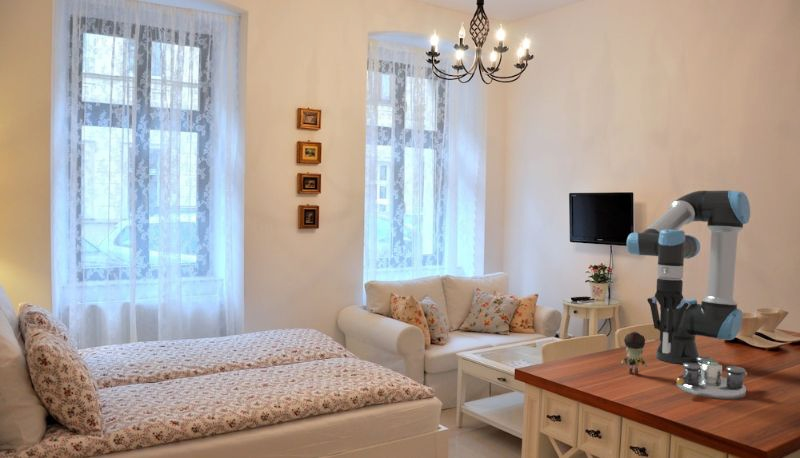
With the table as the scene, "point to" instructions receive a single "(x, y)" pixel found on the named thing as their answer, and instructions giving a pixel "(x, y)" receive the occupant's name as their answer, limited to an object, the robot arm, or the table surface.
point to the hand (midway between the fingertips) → (666, 352)
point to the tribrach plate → (714, 390)
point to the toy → (634, 350)
